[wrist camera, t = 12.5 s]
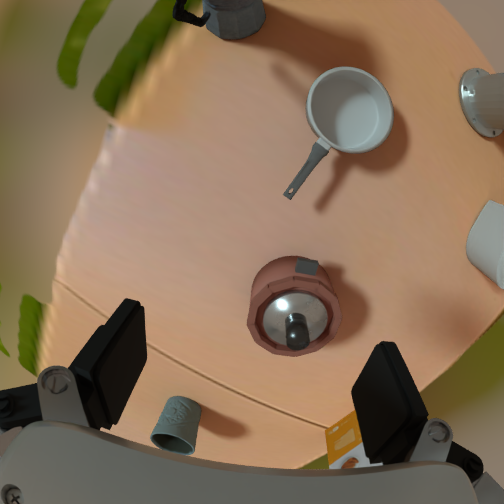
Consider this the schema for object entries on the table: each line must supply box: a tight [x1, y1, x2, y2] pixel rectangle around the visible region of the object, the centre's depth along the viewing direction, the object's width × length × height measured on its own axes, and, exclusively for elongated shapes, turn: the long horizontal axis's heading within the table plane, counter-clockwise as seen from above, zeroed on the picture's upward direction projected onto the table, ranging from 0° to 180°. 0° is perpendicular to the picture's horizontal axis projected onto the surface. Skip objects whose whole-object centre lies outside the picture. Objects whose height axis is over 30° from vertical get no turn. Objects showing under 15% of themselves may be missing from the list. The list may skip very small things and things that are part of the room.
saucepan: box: [283, 67, 394, 200], centre depth 34 cm, size 12×20×6 cm, turn 146°
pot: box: [247, 256, 342, 357], centre depth 42 cm, size 13×17×8 cm
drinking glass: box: [150, 396, 201, 455], centre depth 55 cm, size 10×10×12 cm
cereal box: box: [325, 410, 383, 469], centre depth 44 cm, size 22×6×30 cm, turn 147°
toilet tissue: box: [466, 200, 504, 290], centre depth 35 cm, size 11×12×10 cm
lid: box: [263, 289, 328, 351], centre depth 37 cm, size 9×9×6 cm
